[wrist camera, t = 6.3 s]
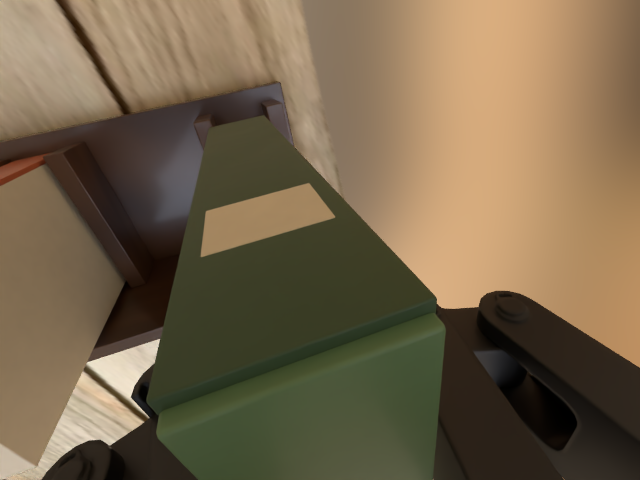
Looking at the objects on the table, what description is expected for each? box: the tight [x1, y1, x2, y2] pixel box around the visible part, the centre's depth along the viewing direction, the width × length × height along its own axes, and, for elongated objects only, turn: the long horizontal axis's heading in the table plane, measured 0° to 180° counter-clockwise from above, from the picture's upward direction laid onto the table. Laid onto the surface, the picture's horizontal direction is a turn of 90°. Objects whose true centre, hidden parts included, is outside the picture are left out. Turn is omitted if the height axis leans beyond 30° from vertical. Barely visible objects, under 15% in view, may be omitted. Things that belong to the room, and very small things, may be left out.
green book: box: [146, 115, 446, 480], centre depth 11 cm, size 9×3×14 cm, turn 10°
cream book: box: [0, 152, 126, 480], centre depth 14 cm, size 9×3×14 cm, turn 10°
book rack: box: [0, 82, 294, 362], centre depth 18 cm, size 11×18×9 cm, turn 100°
